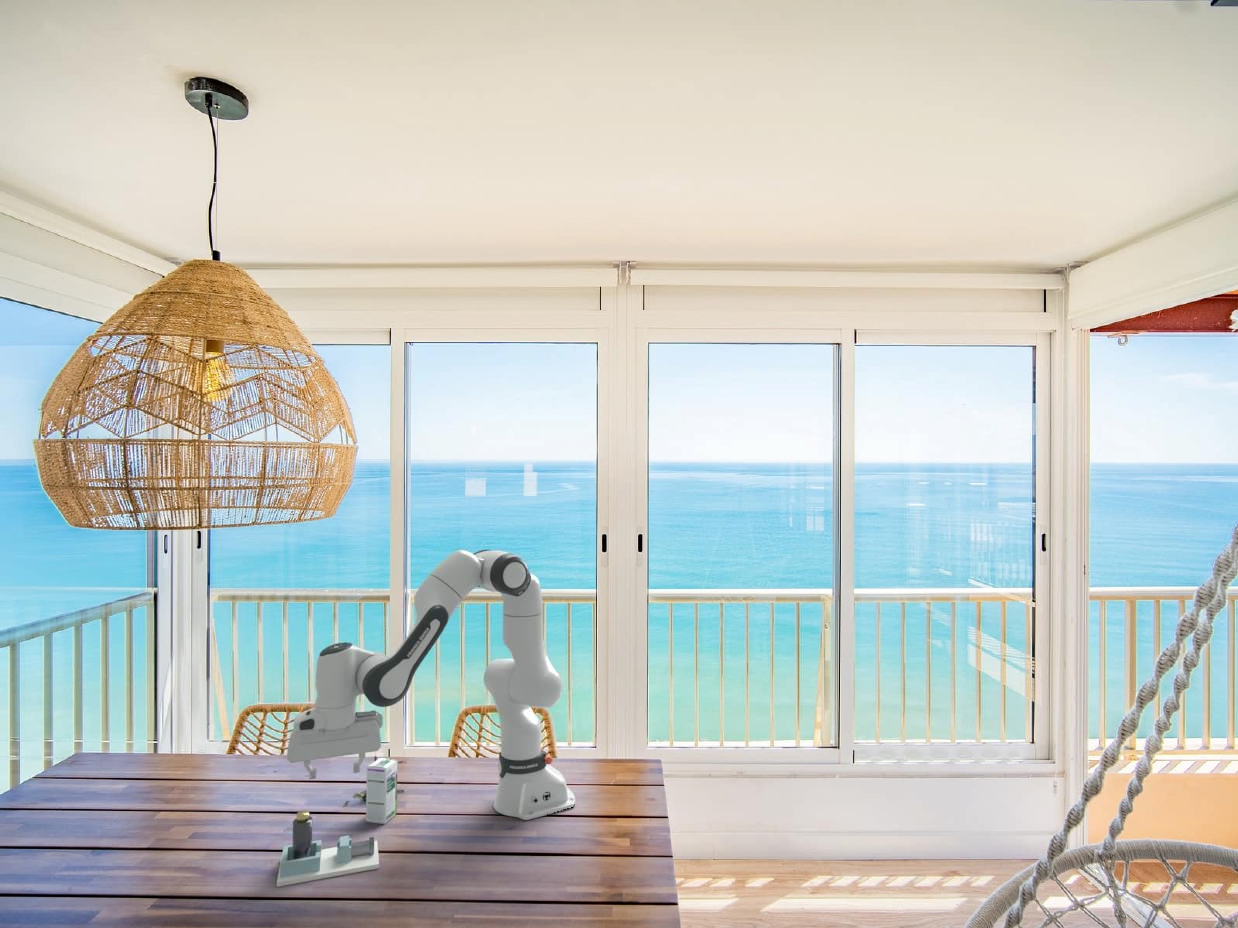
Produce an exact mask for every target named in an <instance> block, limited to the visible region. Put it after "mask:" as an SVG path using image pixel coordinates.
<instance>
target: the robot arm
mask: <svg viewBox="0 0 1238 928" xmlns="http://www.w3.org/2000/svg"><path fill="white" fill-rule="evenodd" d="M477 587H478V588H481V589H483V590H486V591H489V592H494V593H495V592H496V593H500V594H501V598H502V602H503V604H502V641H503V644H504V645H505V647H506V648H507V649H508V650H509V652H510V654H511V656H512V658H509V657H508V658H496V659H493V660H492V661H491V662H489V664H488V665H487V667H486V669H485V671H484V673H483V674H484V675H483V684H484V687H485V689H486V690H487V691H488V693H489V694H490V696H491V697H492V700H493V702H494V706H495V707H496V710H497V714H498V718H499V719H498V720H499V723H500V751H499V755H498V766H497V767H498V769H497V771H498V775H499V776H498V784H497V790H496V794H495V798H494V801H493V804H492V806H493V809H494V811H496V812H497V813H499V814H501V815H503V816H508V817H514V818H517V819H520V820H525V821H528V820H532V819H533V820H534V819H537V818H539V817H543V816H547V814H548V815H551V814H554V812H555V813H558V812H557V811H559V812H561V810H562V811H564V810H563V809H566V808H569V809H572V808H571V807H573V806H574V804H575V805H576V796H575V795H574V793H573V792H572V790H571V789H570V788H569V787H568V785H567V781H566V779H565V776H564V775H563V774H562V773H561V772H560V770H558V769H557V768H555V767H553V766H552V765H551V764H552V763H553V761H554V759H553V758H552V756H551V755H550V754H548V752H547V751H545V750H544V749H543V748H542V724H541V721H540V719H539V717H538V716H537V715H536V714H535V712H534V710H533V709H532V708H540V709H543V708H544V709H546V708H552V707H554V706H555V705H556V704H557V703H558V701H559V700H560V698H561V696H562V694H563V686H564V685H563V679H562V677H561V675H560V674H559V673H558V671H556V669H555V668H554V666H553V664H552V662H551V661H550V658H549V656H548V651H547V649H546V646H545V640H544V629H543V628H544V627H543V626H544V624H543V623H544V622H543V617H544V616H543V615H544V614H543V613H544V612H543V611H544V610H543V609H544V608H543V595H542V589H541V588H542V586H541V584H540V581H539V578H538V577H537V576H536V575H535V574H533V573H531V572H530V570H529V567H528V564H527V563H526V561H525V560H524V559H523V558H522V557H520V556H519V555H518V554H515V553H512V552H511V553H510V552H507V551H504V550H499V549H498V550H497V549H496V550H491V549H482V550H478V551H476V552H474V553H472V552H470V551H468V550H464V549H457V550H455V551H453V552H452V553H451V554H449V555H448V556H447V557H445V558H444V559H443V560H442V561H441V562H440V563H439V564H438V565H437V566H436V567H435V568H434V569H433V570H432V571H431V572H430V574H428V576H427V577H426V578H425V579H424V580H423V581H422V583H421V584H420V585H419V587H418V589H417V591H416V592H415V594H414V599H413V605H414V608H415V612H416V613H415V614H416V621H415V623H414V626H413V628H412V629H411V631H410V632H409V634H408V635H407V636H406V637H405V639H404V640H403V642H402V643H401V645H400V646H399V647H398V648H397V650H396V651H395V653H394V654H392V655H391V656H388V655H386V654H384V653H382V652H380V651H373V650H368V649H364V648H360V647H358V646H357V645H354V644H353V643H352V642H347V641H346V642H337V643H334V644H331V645H328V646H327V647H325V648H323V649H322V650H321V652H320V653H319V654H318V657H317V661H316V666H315V668H316V669H315V682H314V683H315V684H314V686H315V690H316V700H315V703H314V707H312V708H310V709H309V708H308V709H307V710H304V711H302V712H299V713H297V714H296V715H295V717H294V720H293V728H292V730H291V732H290V736H289V738H288V739H289V740H288V745H287V750H286V751H287V752H286V760H287V761H288V763H290V764H294V763H301V762H303V767H304V768H305V769H306V771H307V773H308V779H309V780H314V779H316V778H317V768H316V767H315V768H313V766H312V764H311V763H312V761H317V760H323V759H330V758H337V757H344V756H352V755H358V760H357V762H353V767H352V770H353V774H356V773H361V765H362V764H363V761H364V760H365V759H366V754H367V753H372V752H373V753H374V752H375V753H376V752H378V751H379V750H380V749H381V748H382V739H381V737H382V736H381V735H382V734H381V730H380V729H381V728H382V727H383V723H384V720H383V719H384V717H383V714H382V713H381V712H379V711H377V710H370V711H358V712H357V697H358V696H360V695H364V696H365V697H366V699H367V700H368V702H370V704H372V705H374V706H376V707H379V708H380V707H381V708H385V707H390V706H394V705H395V704H397V703H399V702H401V700H402V699H403V698H405V696H406V694H407V693H408V691H409V690H410V686H411V684H412V682H413V681H412V680H413V678H414V675H415V674H416V672H417V670H418V668H419V667H420V666H421V664H422V663H423V660H424V659H425V658H426V657H427V655H428V654H429V652H430V651H431V649H432V648H433V647H434V645H435V644H436V642H437V640H439V637H440V636H441V635H442V633H443V631H444V630H445V628H446V626H447V625H448V622H449V620H450V619H451V617H452V616H453V615H454V613H455V611H457V609H458V608H459V606H460V605H461V604H462V603H463V601H464V600H466V598H467V596H469V593H470V592H471V591H473V590H474V589H475V588H477ZM574 807H575V806H574ZM574 807H573V808H574ZM566 810H567V809H566Z"/></svg>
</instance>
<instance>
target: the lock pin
mask: <svg viewBox="0 0 1238 928" xmlns="http://www.w3.org/2000/svg"><path fill="white" fill-rule="evenodd" d="M374 841H375V836H371V837H369V838H368V839H367V840H362V841H356V842H355V841H354V842H351V843H349V846H351V857H352V856H357V855H363V854H369V855H373V854H374ZM336 845H337V844H336ZM336 847H337V848H340V845H337V846H336Z"/></svg>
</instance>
